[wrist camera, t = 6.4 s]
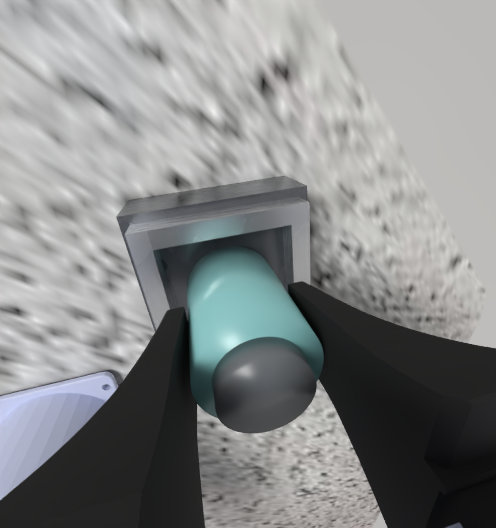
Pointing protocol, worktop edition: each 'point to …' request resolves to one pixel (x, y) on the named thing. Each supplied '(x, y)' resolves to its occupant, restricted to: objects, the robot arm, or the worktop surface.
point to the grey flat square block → (215, 234)
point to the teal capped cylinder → (248, 343)
